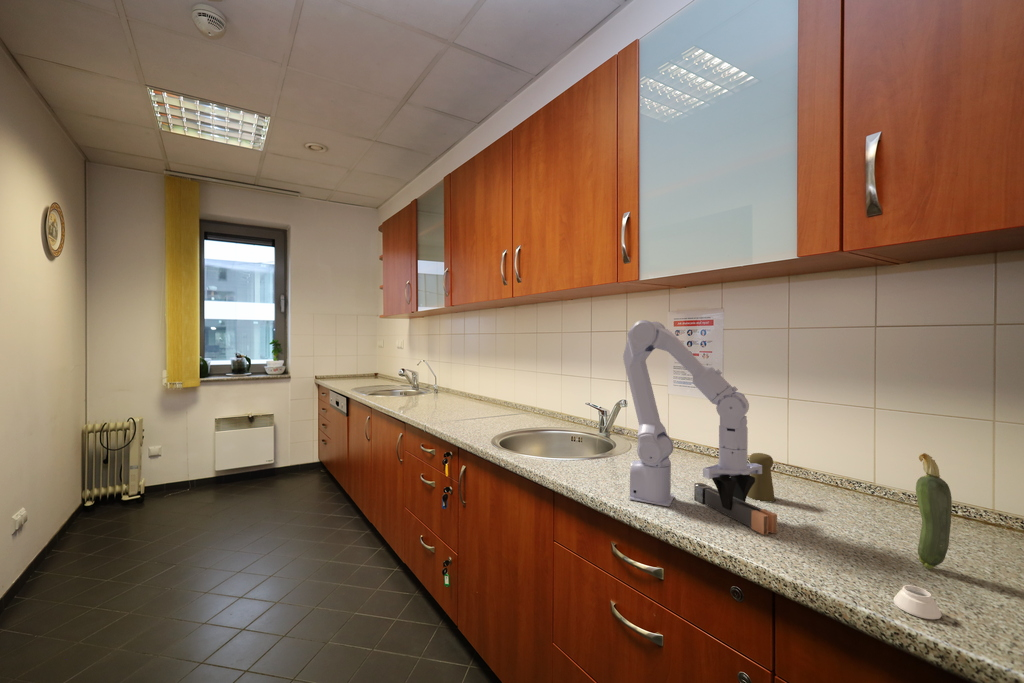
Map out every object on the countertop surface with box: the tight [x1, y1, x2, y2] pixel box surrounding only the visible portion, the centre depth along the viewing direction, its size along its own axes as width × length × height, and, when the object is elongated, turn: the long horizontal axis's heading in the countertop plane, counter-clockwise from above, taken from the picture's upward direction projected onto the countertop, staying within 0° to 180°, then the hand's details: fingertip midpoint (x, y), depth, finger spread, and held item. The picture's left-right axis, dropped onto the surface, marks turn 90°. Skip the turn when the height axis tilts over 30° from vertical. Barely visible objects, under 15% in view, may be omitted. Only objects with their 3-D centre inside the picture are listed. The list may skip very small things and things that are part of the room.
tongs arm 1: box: [704, 489, 769, 536], centre depth 95 cm, size 17×1×4 cm, turn 16°
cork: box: [747, 452, 775, 502], centre depth 109 cm, size 6×6×11 cm
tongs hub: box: [693, 482, 713, 505], centre depth 106 cm, size 4×3×4 cm
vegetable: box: [915, 452, 953, 570], centre depth 74 cm, size 4×4×20 cm
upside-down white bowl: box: [893, 584, 942, 620], centre depth 63 cm, size 5×3×5 cm
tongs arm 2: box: [711, 487, 778, 534], centre depth 96 cm, size 17×1×4 cm, turn 18°
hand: (732, 507), depth 97 cm, fingers open, 2 cm apart
